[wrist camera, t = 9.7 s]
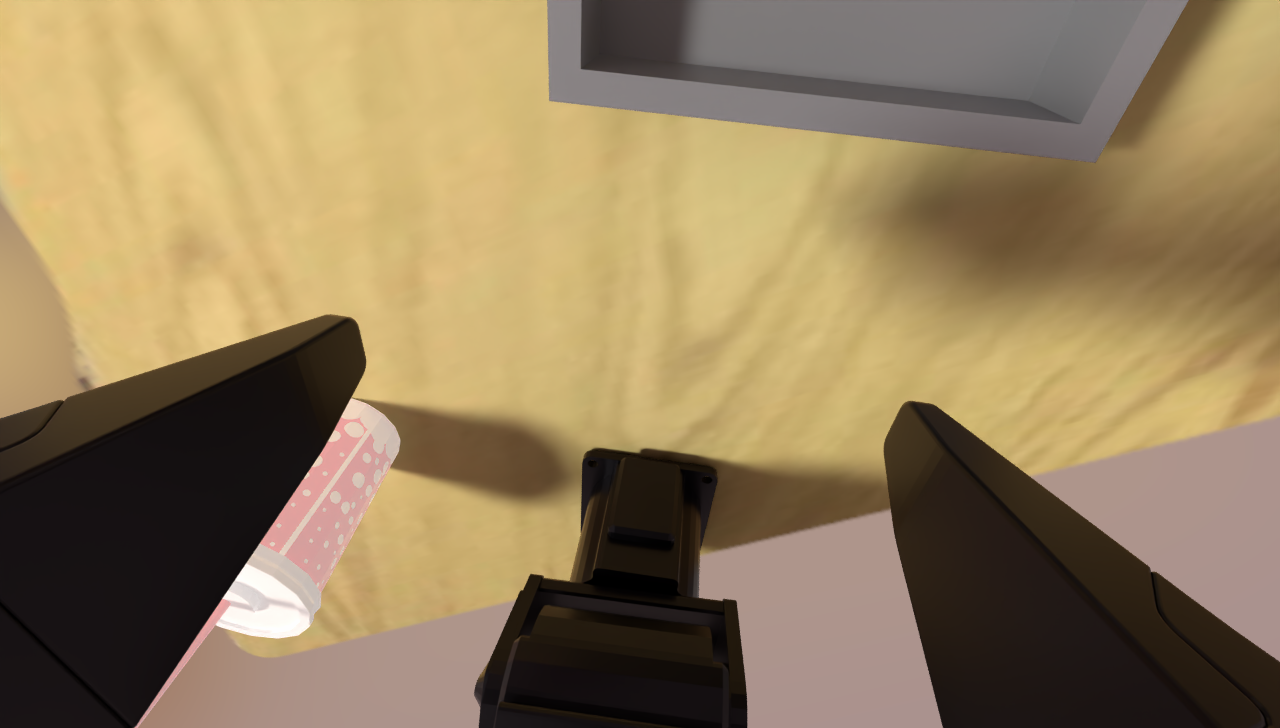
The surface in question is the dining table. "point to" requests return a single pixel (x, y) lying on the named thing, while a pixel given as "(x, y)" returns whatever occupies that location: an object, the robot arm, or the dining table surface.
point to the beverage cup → (307, 535)
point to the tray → (870, 65)
